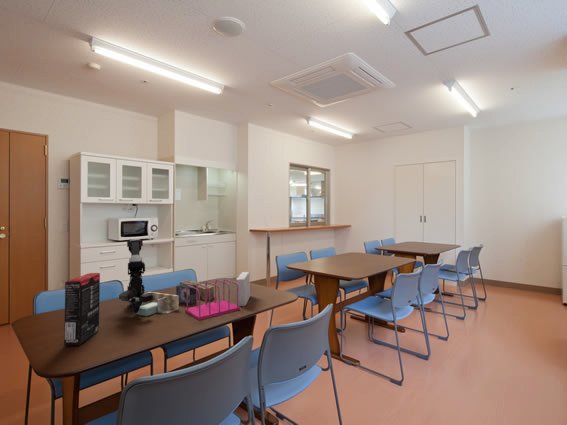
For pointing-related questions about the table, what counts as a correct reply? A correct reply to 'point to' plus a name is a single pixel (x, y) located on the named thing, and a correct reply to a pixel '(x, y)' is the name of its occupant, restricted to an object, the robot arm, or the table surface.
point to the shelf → (172, 299)
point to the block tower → (201, 289)
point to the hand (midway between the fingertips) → (136, 312)
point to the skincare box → (243, 288)
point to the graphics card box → (81, 308)
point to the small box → (182, 294)
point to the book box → (148, 309)
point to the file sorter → (211, 308)
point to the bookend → (163, 306)
